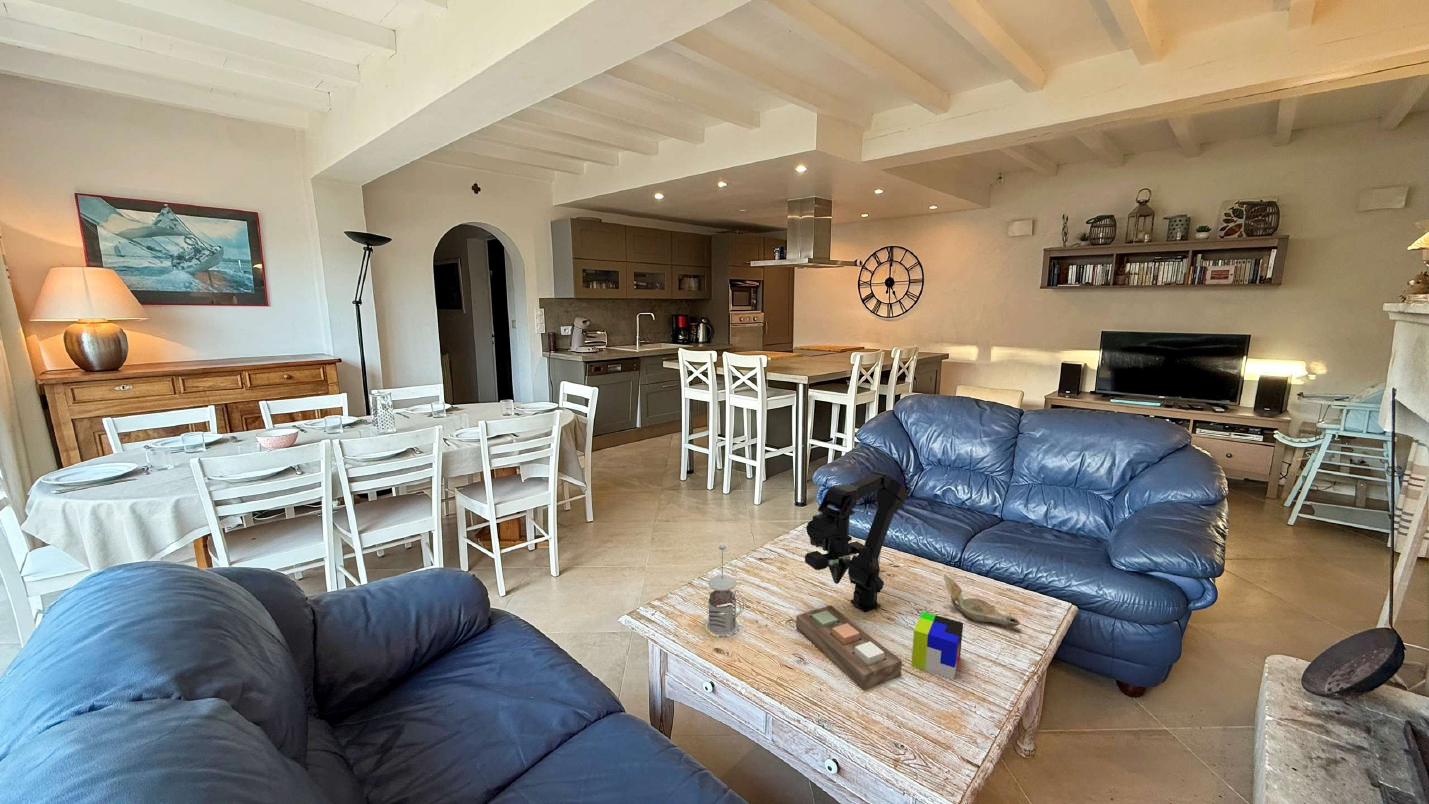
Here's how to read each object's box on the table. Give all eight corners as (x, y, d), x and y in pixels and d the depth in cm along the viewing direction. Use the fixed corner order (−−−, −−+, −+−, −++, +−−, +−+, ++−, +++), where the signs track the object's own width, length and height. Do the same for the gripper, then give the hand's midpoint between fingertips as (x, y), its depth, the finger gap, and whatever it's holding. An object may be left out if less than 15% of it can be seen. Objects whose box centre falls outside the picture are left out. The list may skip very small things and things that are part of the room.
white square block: (869, 651, 142) (870, 641, 141) (883, 663, 137) (884, 652, 137) (854, 657, 140) (854, 646, 139) (867, 669, 135) (868, 658, 135)
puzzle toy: (953, 680, 136) (956, 643, 134) (911, 665, 141) (913, 630, 139) (960, 657, 144) (963, 622, 142) (920, 645, 149) (922, 611, 147)
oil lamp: (946, 599, 172) (949, 569, 170) (1022, 626, 158) (1026, 593, 156) (936, 610, 166) (938, 579, 164) (1014, 639, 152) (1017, 605, 150)
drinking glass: (880, 578, 185) (882, 550, 183) (860, 576, 186) (861, 548, 184) (878, 569, 191) (880, 541, 189) (858, 567, 192) (860, 540, 190)
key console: (830, 617, 162) (830, 605, 161) (900, 675, 137) (901, 660, 136) (796, 628, 157) (796, 615, 156) (863, 690, 132) (863, 675, 131)
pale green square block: (826, 620, 158) (826, 610, 157) (837, 629, 153) (837, 619, 153) (811, 624, 156) (812, 614, 155) (822, 634, 151) (822, 624, 151)
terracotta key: (846, 633, 150) (847, 623, 149) (859, 643, 145) (859, 632, 145) (831, 638, 148) (832, 627, 147) (844, 648, 143) (844, 638, 143)
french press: (718, 613, 164) (718, 534, 160) (751, 626, 157) (752, 544, 153) (698, 629, 156) (697, 546, 152) (732, 644, 150) (732, 557, 145)
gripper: (846, 516, 166) (844, 564, 169) (794, 527, 158) (792, 577, 161) (871, 529, 156) (869, 580, 159) (817, 542, 148) (815, 595, 151)
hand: (836, 583), depth 158 cm, fingers closed
